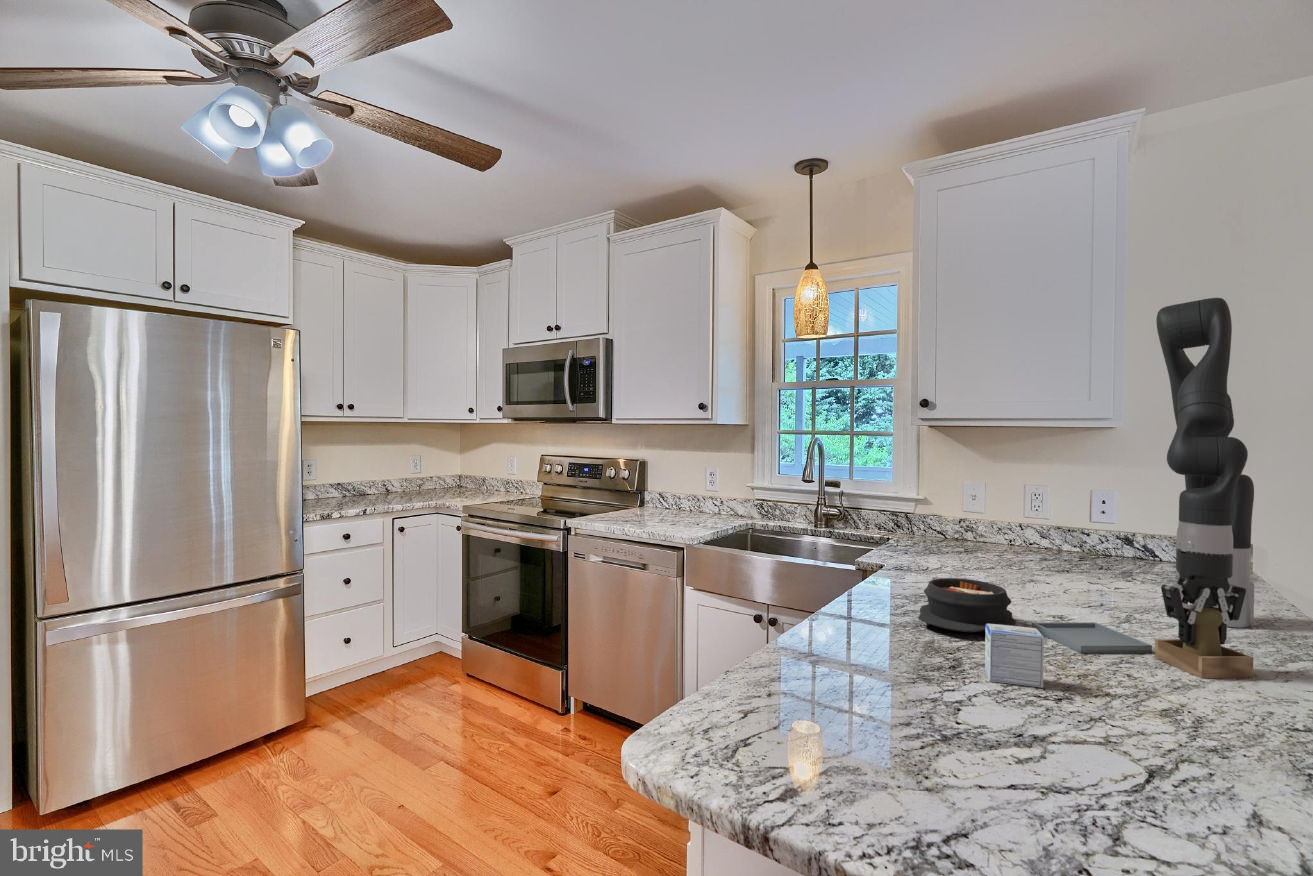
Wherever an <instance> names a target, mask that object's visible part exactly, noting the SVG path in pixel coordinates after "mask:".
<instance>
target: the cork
mask: <svg viewBox="0 0 1313 876" xmlns="http://www.w3.org/2000/svg"><path fill="white" fill-rule="evenodd" d="M1190 605H1191V606H1192V605H1193V604H1190ZM1188 612H1189V609H1187V610H1186V615H1188ZM1222 622H1223V617H1222V614H1221V612H1220V611H1219V610H1217V609H1215V608H1213V607H1209V606H1203V609H1202V611H1201V612H1200V613H1198V614H1197V617H1196V619H1195V622H1194V623H1193V624H1195V644H1194V645H1188V644H1186V643H1183V648H1182V649H1184V650H1187V651H1190V652H1192V653H1195V654H1197V655H1200V656H1222V650H1221V646H1222V645H1221V644H1220V637H1219V630H1218V627H1219V626H1220V625H1221V624H1222Z"/></svg>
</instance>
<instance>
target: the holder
mask: <svg viewBox="0 0 1313 876" xmlns="http://www.w3.org/2000/svg"><path fill="white" fill-rule="evenodd" d="M1182 648H1183V642H1181V640H1180V639H1179V638H1177V639H1175V638H1169V639H1167V638H1164V639H1163V638H1157V639H1154V659H1156V660H1159V661H1161V662H1164V663H1166V664H1168V665H1171V666H1172V667H1174V668H1177V669H1179V670H1182V671H1183V672H1187V673H1189V674H1191V675H1193V676H1196V677H1198V678H1200V679H1247V678H1248V677H1249V678H1248V679H1252V678H1254V657H1253V656H1251V655H1247V654H1244V653H1242V652H1239V651H1237V650H1233V649H1231V648H1228V647H1225V646H1223V645H1221V650H1222V656H1200V655H1197V654H1195V653H1192V652H1190V651H1187V650H1184V649H1182ZM1245 677H1246V678H1245Z"/></svg>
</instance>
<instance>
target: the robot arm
mask: <svg viewBox="0 0 1313 876" xmlns="http://www.w3.org/2000/svg"><path fill="white" fill-rule="evenodd" d="M1155 321H1156V330H1157V335H1158V340H1159V343H1160V348H1161V350H1162V354H1163V358H1164V361H1165V365H1166V370H1167V374H1168V379H1169V384H1170V392H1171V399H1172V407H1173V413H1174V421H1175V423H1176V430H1175V433H1174V435H1173V438H1172V440H1171V442H1170V445H1169V448H1168V449H1167V454H1166V462H1167V466H1168V467H1169V468H1170V469H1171V471H1172V472H1174V473H1176V474H1177V475H1182V476H1184V483H1185V484H1184V485H1185V490H1182V491H1181V492H1180V493H1179V497H1178V498H1179V499H1178V524H1177V530H1176V542H1175V543H1176V545H1175V546H1176V547H1175V548H1176V551H1175V553H1176V554H1175V570H1176V571H1177V572H1178V574H1179V577H1178V580H1177V582H1176V583H1174V584H1170V585H1168V584H1162V585H1161V586H1160V589H1161V594H1162V598H1163V603H1164V604H1163V605H1164V608H1165V613H1166V616H1167V617H1169V618H1173V619H1175V620H1177V621H1178V635H1177V636H1178V639H1180V640H1181V642H1183V643H1186V644H1188V645H1194V644H1195V624H1193V623H1194V622H1195V619H1196V617H1197V614H1198V613H1200V612H1201V611H1202V609H1203V606H1209V607H1213V608H1215V609H1217V610H1219V611H1220V612H1221V614H1222V617H1223V622H1222V624H1221V625H1220V626H1219V627H1218V630H1219V637H1220V644H1221V646H1223V645H1225V644H1226V641H1227V638H1228V637H1227V631H1228V629H1227V627H1230V628H1248V627H1250V626H1254V617H1255V606H1254V605H1255V583H1254V581H1252V580H1251V547H1252V546H1251V545H1252V523H1253V522H1252V521H1253V509H1254V501H1255V484H1254V481H1253V480H1252V478H1251V476H1249V475H1247V474H1242V473H1243V471H1244V469H1245V467H1246V463H1247V461H1248V458H1249V455H1248V449H1247V446H1246V445H1245V443H1244V442H1243V441H1242V440H1241V439H1239V438H1238V437H1233V436H1230V434H1231V433H1232V431H1233V428H1234V427H1235V417H1234V412H1233V405H1232V399H1231V396H1230V395H1229V393H1228V376H1229V368H1230V359H1231V350H1232V349H1231V348H1232V347H1231V346H1232V334H1233V333H1232V332H1233V331H1232V323H1233V322H1232V315H1231V311H1230V307H1229V304H1228V302H1227V301H1226V300H1225V299H1224V298H1222V297H1211V298H1203V299H1199V300H1193V301H1187V302H1183V303H1177V304H1171V305H1168V306H1164V307H1162V308H1160V309H1158V311H1157V314H1156V320H1155ZM1206 346H1208V347H1207V350H1206V352H1205V353H1204V355H1203V356H1202V358H1201V359H1200V361H1199V362H1198V363H1197V364H1196V365H1195V363H1193V362H1192V361H1191V360H1190V358H1189V357H1188V355H1187V354H1186V352H1185V350H1184V349H1191V348H1198V347H1206ZM1191 605H1192V606H1191ZM1187 609H1189V612H1188V615H1186V610H1187Z"/></svg>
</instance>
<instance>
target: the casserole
mask: <svg viewBox="0 0 1313 876" xmlns="http://www.w3.org/2000/svg"><path fill="white" fill-rule="evenodd" d="M923 593H924V594H925V596H926V597H927V604H924V605H922V606H921V607H920V608H919V613H920V614H919V615H918V620H919V621H921V622H923V623H925V624H928V625H931V626H933V627H937V628H942V629H946V630H950V631H955V632H963V633H978V632H980V633H984V632H985V629H986V624H998V625H1009V626H1015V625H1016V620H1015V619H1014V617H1013V612H1012V611H1010V610H1009V609H1008V606H1010V604H1012V600H1011V598H1009V596H1008V593H1007V591H1006V589H1005V588H1003V587H1001V586H999V585H996V584H994V583H991V582H985V581H982V580H975V579H968V578H959V577H958V578H957V577H956V578H953V577H951V578H950V577H946V578H944V577H943V578H935V579H931V580H930V581H929V582H928V584H927V586H926V587H925V589H924V590H923Z"/></svg>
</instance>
